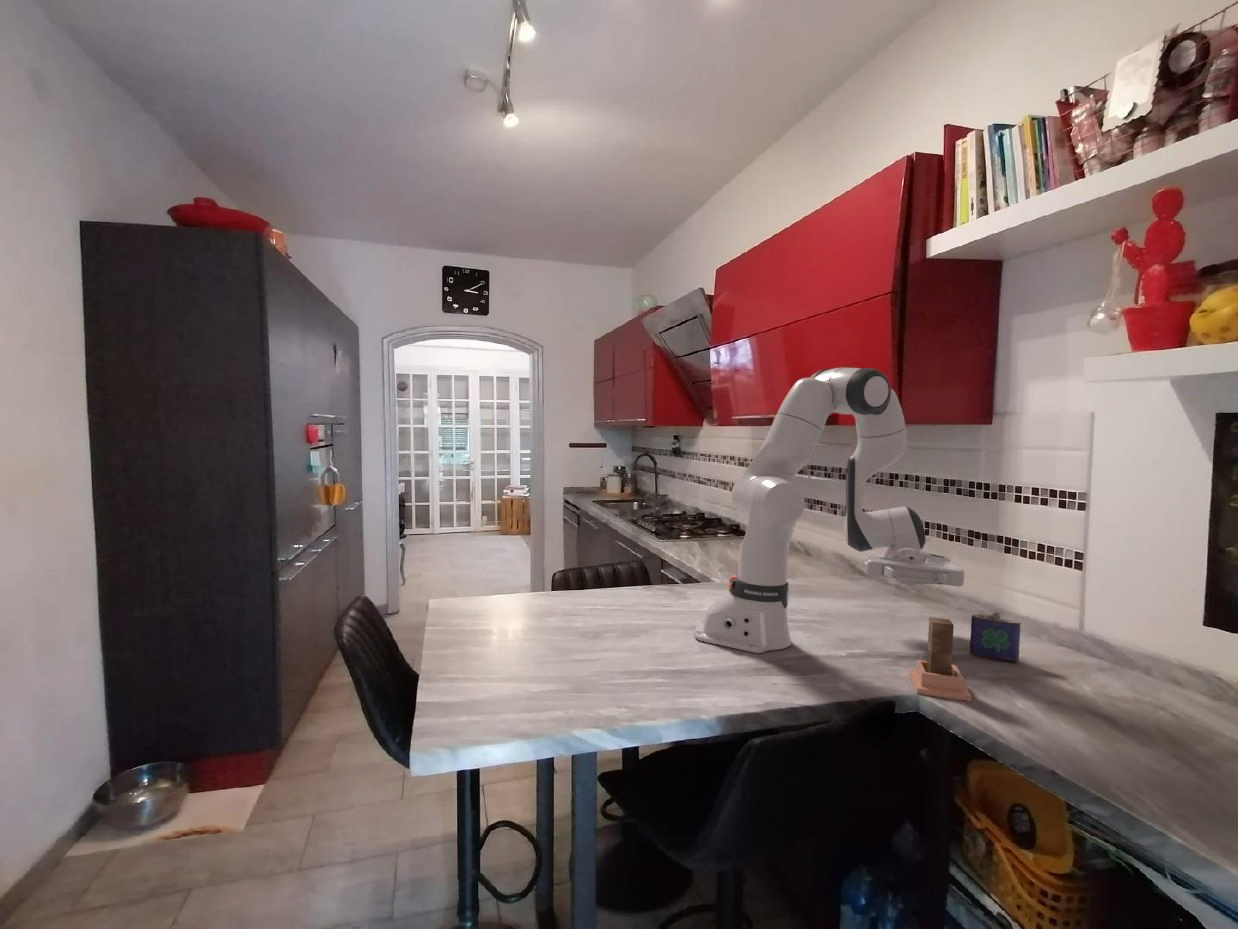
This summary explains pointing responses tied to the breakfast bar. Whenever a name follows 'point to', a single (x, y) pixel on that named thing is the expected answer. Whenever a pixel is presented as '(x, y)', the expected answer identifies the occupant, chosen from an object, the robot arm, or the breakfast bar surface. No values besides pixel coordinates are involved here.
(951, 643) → the walnut stick
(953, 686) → the terracotta holder
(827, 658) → the breakfast bar surface
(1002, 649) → the flask
